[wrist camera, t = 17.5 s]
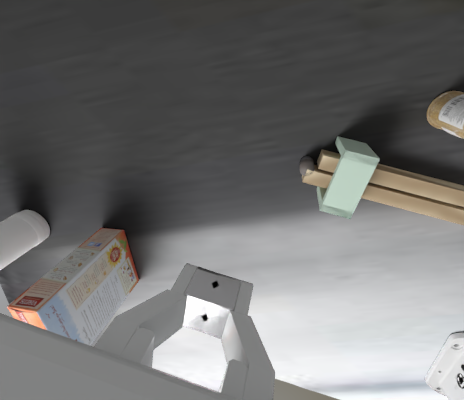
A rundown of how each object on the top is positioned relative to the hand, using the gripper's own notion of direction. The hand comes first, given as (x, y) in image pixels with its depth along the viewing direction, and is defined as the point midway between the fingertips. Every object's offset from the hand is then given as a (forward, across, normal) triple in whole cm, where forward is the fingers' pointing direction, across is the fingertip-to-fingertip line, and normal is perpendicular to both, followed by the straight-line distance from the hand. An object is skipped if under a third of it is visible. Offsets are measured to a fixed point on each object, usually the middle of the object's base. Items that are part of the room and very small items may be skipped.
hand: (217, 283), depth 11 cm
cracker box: (+31, +25, +34) cm, 53 cm away
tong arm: (+31, -20, +2) cm, 37 cm away
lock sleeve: (+31, -11, +3) cm, 33 cm away
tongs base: (+31, -18, +4) cm, 36 cm away
